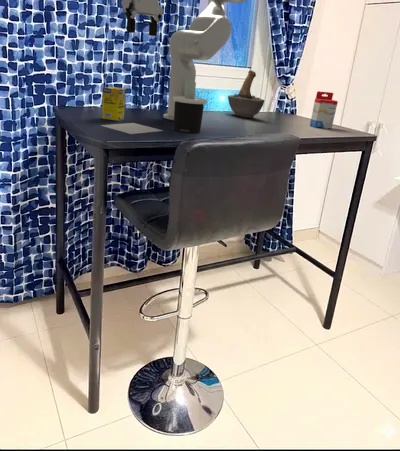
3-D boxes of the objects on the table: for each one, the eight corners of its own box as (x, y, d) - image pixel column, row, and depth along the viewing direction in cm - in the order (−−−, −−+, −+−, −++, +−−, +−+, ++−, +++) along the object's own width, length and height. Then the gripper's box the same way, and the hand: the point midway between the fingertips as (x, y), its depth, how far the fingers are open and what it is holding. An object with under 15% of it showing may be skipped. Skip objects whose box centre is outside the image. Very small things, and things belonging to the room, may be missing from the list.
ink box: (315, 127, 179) (322, 92, 173) (309, 125, 183) (316, 91, 178) (332, 128, 181) (339, 93, 176) (326, 126, 186) (333, 92, 180)
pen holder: (166, 130, 137) (168, 99, 134) (187, 129, 144) (190, 99, 140) (185, 136, 131) (188, 103, 128) (206, 134, 138) (210, 103, 134)
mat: (133, 124, 141) (133, 122, 141) (163, 132, 133) (163, 130, 133) (100, 127, 130) (100, 125, 130) (130, 135, 123) (130, 133, 123)
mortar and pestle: (261, 121, 180) (268, 72, 173) (223, 116, 182) (228, 68, 175) (261, 117, 194) (268, 71, 186) (226, 112, 196) (232, 67, 188)
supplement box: (118, 123, 141) (119, 89, 136) (101, 120, 142) (101, 87, 137) (124, 120, 146) (125, 88, 142) (108, 118, 147) (109, 86, 143)
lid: (187, 98, 141) (189, 80, 139) (213, 103, 135) (215, 84, 133) (165, 99, 133) (166, 79, 130) (191, 104, 127) (193, 83, 124)
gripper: (155, -21, 137) (152, 36, 144) (115, -33, 125) (113, 30, 131) (172, -21, 133) (168, 37, 140) (132, -33, 120) (130, 32, 127)
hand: (142, 34), depth 135 cm, fingers open, 9 cm apart
